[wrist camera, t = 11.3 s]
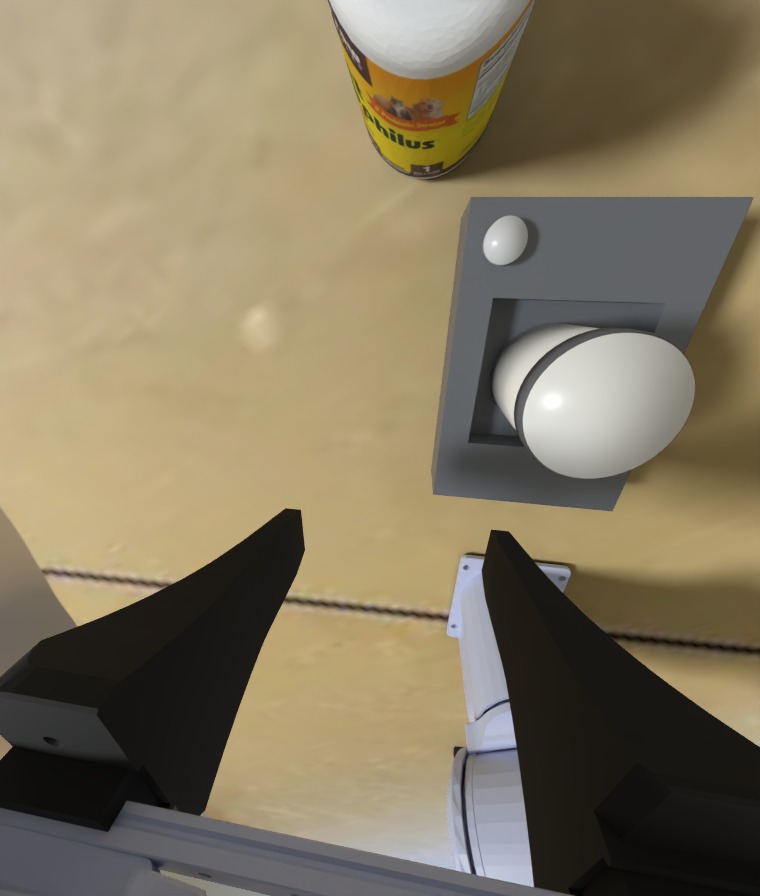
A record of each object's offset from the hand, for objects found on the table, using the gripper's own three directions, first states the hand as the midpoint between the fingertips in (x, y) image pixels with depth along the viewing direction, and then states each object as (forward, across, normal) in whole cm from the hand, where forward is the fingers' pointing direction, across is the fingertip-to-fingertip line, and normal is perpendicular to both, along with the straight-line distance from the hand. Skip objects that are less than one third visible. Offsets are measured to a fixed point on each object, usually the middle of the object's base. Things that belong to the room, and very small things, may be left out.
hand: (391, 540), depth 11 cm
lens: (+8, -7, -5) cm, 12 cm away
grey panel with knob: (+9, -7, -5) cm, 13 cm away
